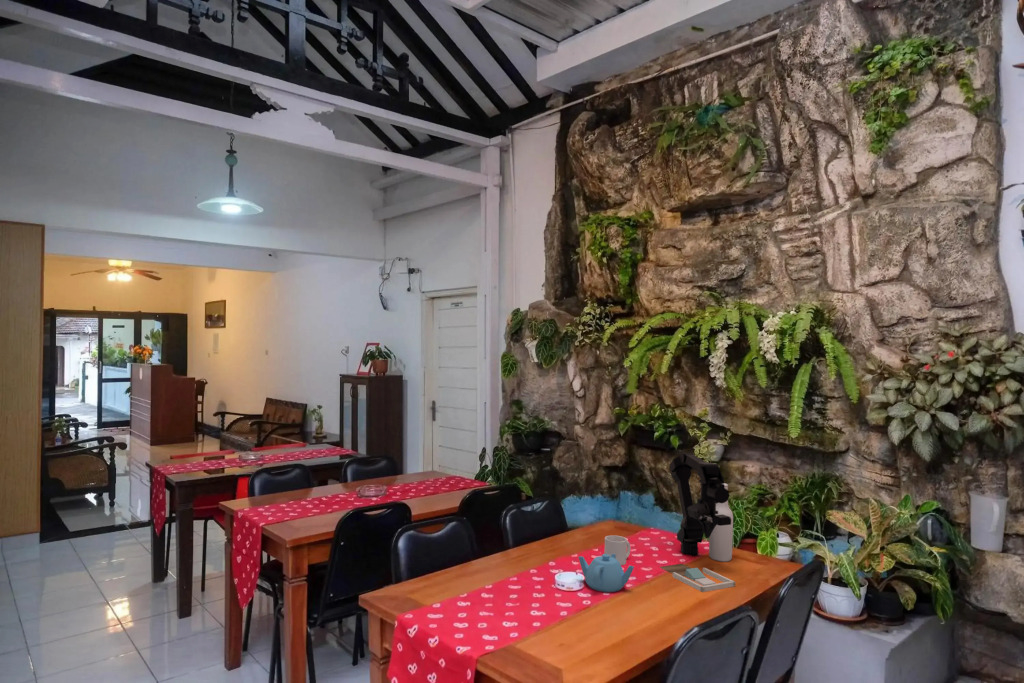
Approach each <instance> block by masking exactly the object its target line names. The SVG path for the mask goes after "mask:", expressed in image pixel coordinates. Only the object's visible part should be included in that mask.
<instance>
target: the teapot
mask: <svg viewBox="0 0 1024 683" xmlns="http://www.w3.org/2000/svg"><path fill="white" fill-rule="evenodd" d="M578 561H579V564H580V567H581V570H582V573H583V577H584V581H585V583H586V584H587V586H589V588H590V589H592V590H595V591H598V592H602V593H615V592H618V591H620V590H622V589H623V588H624V587H625V585H626V584H627V583H628V581H629V579H630V577H631V575H632V573H633V570H634V569H635V566H633V565H628V568H626V570H625V571H624V569H623V567H622V565H620V563H619V562H618V560H617V559H616V554H611V557H610V555H608V554H604V553H603V554H601V555H600V556H599V555H598V556H596V557H594V558H593V559H592V561H591V562H590V564H588V562H587V561H586V559H585V558H584V556H582V555H581V556H578Z"/></svg>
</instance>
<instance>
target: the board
mask: <svg viewBox="0 0 1024 683" xmlns="http://www.w3.org/2000/svg"><path fill="white" fill-rule="evenodd" d="M659 568H660V569H662V570H664V571H666V572H668V573H670V574H672V575H673V572H675V573H677V574H679V575H681V576H683V577H686V576H685V575H684V574H685V571H686V569H691V568H692V567H690V566H688V565H686V564H684V563H677V564H676V563H675V564H669V565H663V566H659Z"/></svg>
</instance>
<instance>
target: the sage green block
mask: <svg viewBox="0 0 1024 683" xmlns="http://www.w3.org/2000/svg"><path fill="white" fill-rule="evenodd" d="M690 568H691V569H686V571H685V574H684V575H685V576H684V577H685V578H687V579H689V580H691V581H693V582H695V579H700V578H707V577H706V576H705V575H704V573H703V572H702V571H701V570H700V568H698V567H694V568H692V567H690Z"/></svg>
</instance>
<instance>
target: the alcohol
mask: <svg viewBox="0 0 1024 683" xmlns="http://www.w3.org/2000/svg"><path fill="white" fill-rule="evenodd" d="M728 486H729V485H728V483H725V482H724V488H725V489H727V490H728V488H729V487H728ZM716 511H718V514H715V515H726V516H729V517H730V518H731V525H723V526H719V525H716V526H715V528H714V529H713V531H712V533H711V535H710V537H709V538H708V539H709V541H708V542H709V544H708V545H709V546H708V556H709V558H710V559H711V560H713V561H717V562H721V563H723V562H725V563H726V562H730V561H731V560H732V559H733V532H734V514H733V511H732V510H731V508H730V507H729V499H728V500H727V501H726V502H725V503H716Z"/></svg>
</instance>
